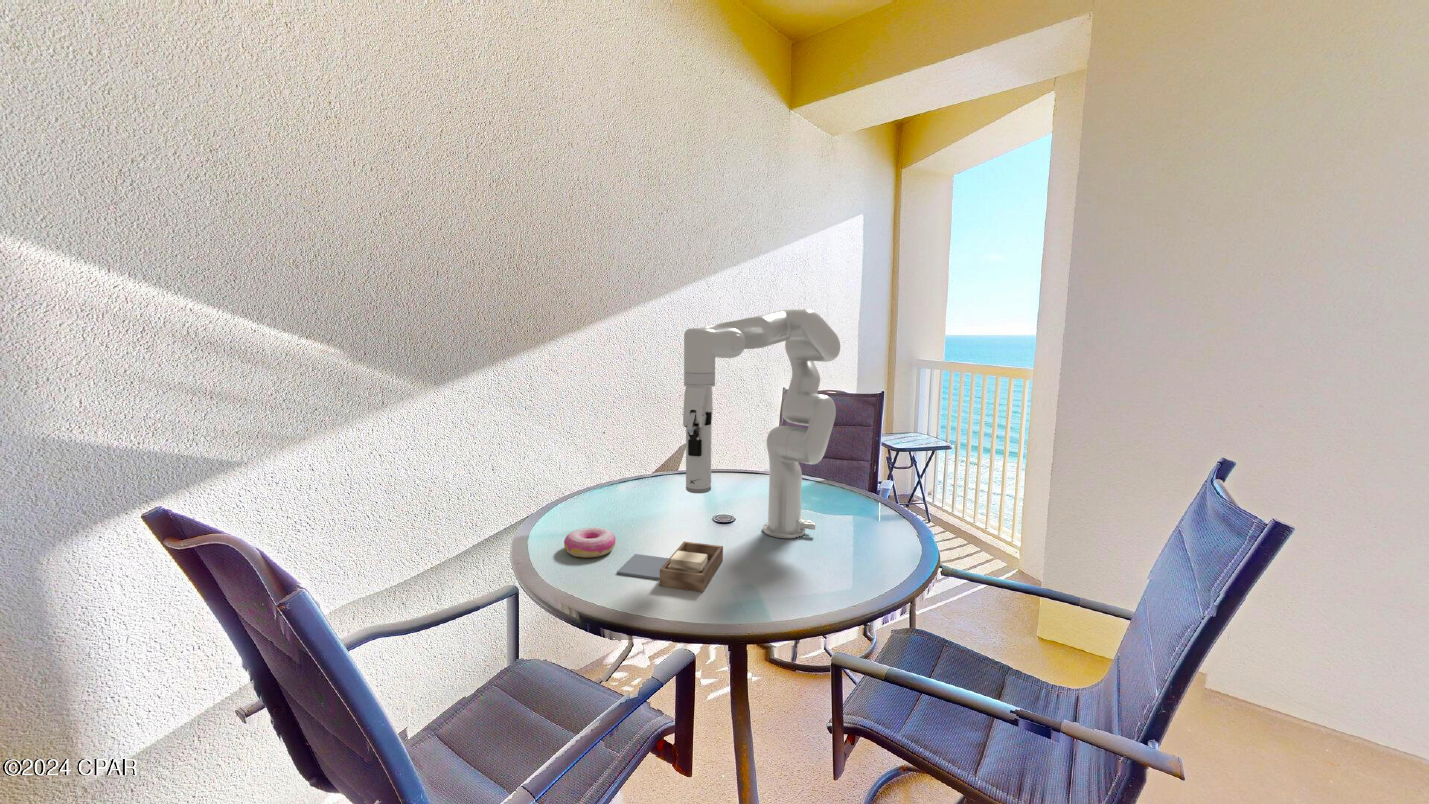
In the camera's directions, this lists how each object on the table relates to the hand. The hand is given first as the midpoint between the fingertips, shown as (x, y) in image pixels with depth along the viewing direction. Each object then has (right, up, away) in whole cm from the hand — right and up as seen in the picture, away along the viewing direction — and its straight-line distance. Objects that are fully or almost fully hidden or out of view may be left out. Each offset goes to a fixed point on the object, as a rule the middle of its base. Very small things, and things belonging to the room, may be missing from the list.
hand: (699, 452), depth 132 cm
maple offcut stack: (-3, -30, -4) cm, 31 cm away
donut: (-30, -28, +12) cm, 43 cm away
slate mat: (-13, -29, +2) cm, 32 cm away
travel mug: (0, -10, +1) cm, 10 cm away
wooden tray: (-1, -30, 0) cm, 30 cm away
